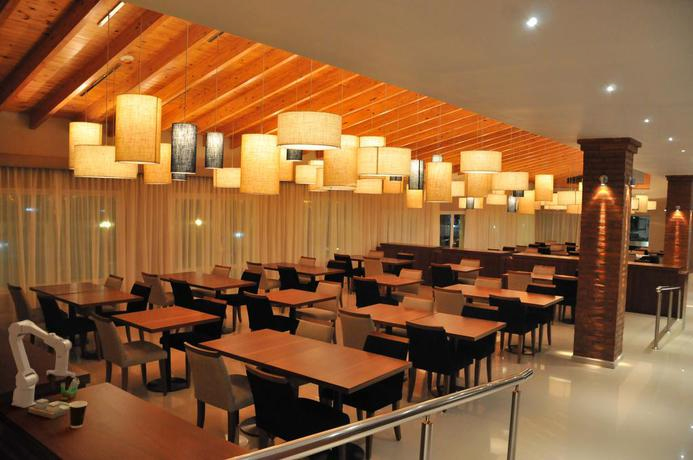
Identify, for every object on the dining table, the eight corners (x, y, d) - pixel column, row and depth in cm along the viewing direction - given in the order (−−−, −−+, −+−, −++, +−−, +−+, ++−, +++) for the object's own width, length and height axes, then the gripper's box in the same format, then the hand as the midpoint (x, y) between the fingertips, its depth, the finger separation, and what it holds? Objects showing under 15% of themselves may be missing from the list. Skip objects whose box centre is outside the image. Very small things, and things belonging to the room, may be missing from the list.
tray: (41, 408, 270) (42, 406, 270) (57, 403, 279) (57, 400, 279) (58, 413, 266) (59, 410, 266) (74, 407, 275) (74, 404, 275)
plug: (52, 417, 261) (53, 405, 261) (46, 415, 262) (47, 404, 262) (59, 414, 265) (60, 403, 265) (53, 413, 266) (54, 401, 266)
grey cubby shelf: (28, 413, 263) (28, 407, 263) (42, 408, 271) (42, 402, 271) (52, 419, 258) (52, 413, 258) (65, 414, 266) (66, 408, 266)
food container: (70, 402, 282) (72, 384, 282) (59, 401, 282) (61, 383, 282) (82, 395, 294) (84, 377, 294) (71, 394, 294) (73, 376, 294)
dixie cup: (86, 428, 252) (88, 405, 252) (68, 430, 248) (70, 407, 248) (84, 421, 259) (86, 400, 259) (66, 424, 254) (68, 401, 254)
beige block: (34, 412, 265) (35, 400, 265) (41, 410, 269) (42, 398, 268) (40, 414, 263) (41, 402, 263) (47, 411, 267) (48, 400, 267)
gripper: (43, 364, 268) (41, 390, 268) (70, 367, 267) (68, 393, 267) (52, 360, 275) (49, 386, 275) (78, 363, 274) (76, 389, 274)
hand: (59, 389), depth 272 cm, fingers open, 7 cm apart
